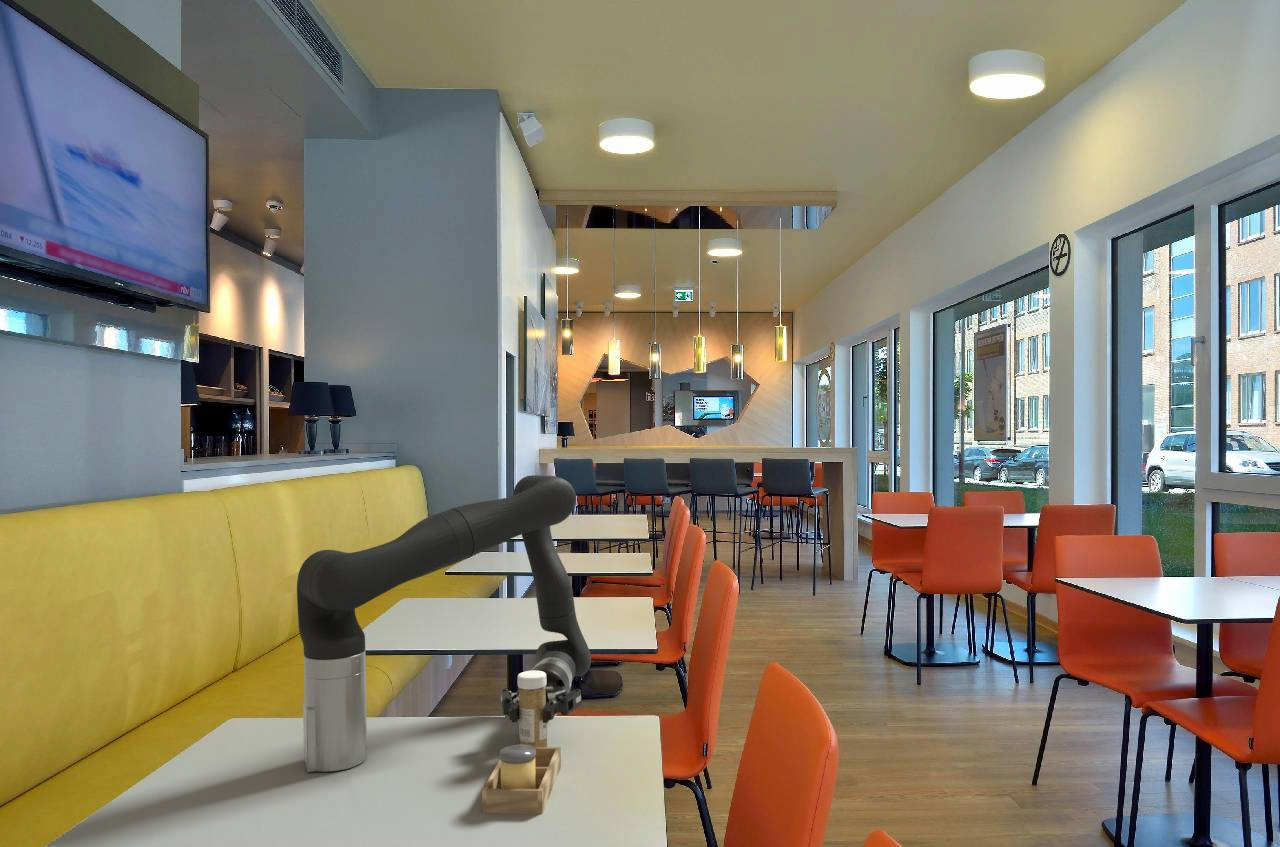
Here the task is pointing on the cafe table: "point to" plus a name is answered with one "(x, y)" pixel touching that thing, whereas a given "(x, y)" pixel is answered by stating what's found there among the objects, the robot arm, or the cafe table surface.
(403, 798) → the cafe table surface
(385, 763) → the cafe table surface
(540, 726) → the sprinkles bottle
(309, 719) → the robot arm
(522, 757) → the honey jar
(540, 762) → the caddy
